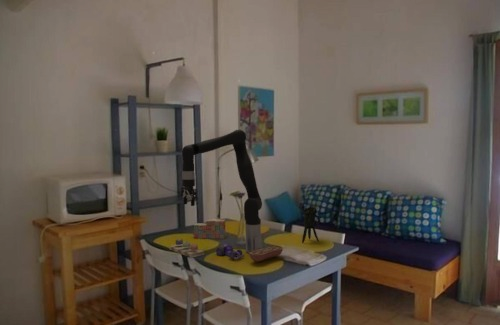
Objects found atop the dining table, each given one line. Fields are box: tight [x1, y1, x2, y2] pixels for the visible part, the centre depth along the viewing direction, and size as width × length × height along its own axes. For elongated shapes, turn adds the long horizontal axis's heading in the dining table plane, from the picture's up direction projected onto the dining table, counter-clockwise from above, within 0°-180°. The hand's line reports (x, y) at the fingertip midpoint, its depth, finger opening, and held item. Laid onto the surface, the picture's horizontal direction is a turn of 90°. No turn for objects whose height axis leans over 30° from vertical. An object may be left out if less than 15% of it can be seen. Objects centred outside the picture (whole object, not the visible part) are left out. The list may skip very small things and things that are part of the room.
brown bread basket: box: [248, 245, 284, 263], centre depth 229 cm, size 23×10×5 cm, turn 132°
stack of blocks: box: [193, 218, 226, 240], centre depth 278 cm, size 21×6×12 cm, turn 85°
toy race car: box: [215, 242, 245, 260], centre depth 235 cm, size 10×15×6 cm, turn 50°
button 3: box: [175, 238, 184, 245], centre depth 249 cm, size 4×4×3 cm
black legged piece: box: [300, 203, 321, 244], centre depth 261 cm, size 19×12×25 cm, turn 138°
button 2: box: [183, 241, 191, 247], centre depth 243 cm, size 4×4×3 cm
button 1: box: [190, 243, 199, 250], centre depth 237 cm, size 4×4×3 cm
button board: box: [169, 244, 205, 258], centre depth 243 cm, size 24×9×2 cm, turn 42°
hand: (188, 204), depth 244 cm, fingers open, 8 cm apart
